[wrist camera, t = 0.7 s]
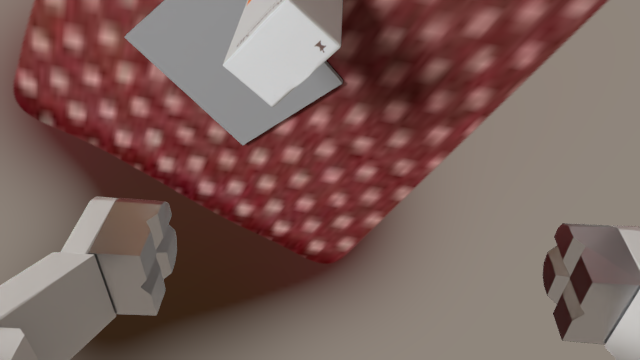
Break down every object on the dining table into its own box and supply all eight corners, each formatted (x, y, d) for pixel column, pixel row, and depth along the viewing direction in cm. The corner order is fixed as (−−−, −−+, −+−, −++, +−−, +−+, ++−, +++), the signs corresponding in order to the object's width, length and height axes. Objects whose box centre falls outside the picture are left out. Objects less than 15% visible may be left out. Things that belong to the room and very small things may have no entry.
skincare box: (303, -70, 38) (289, -6, 29) (345, -27, 40) (345, 47, 31) (247, -10, 41) (219, 66, 32) (289, 28, 43) (274, 111, 34)
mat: (225, -55, 39) (223, -52, 39) (342, 80, 46) (342, 83, 46) (126, 34, 45) (124, 37, 45) (243, 142, 52) (242, 145, 52)
